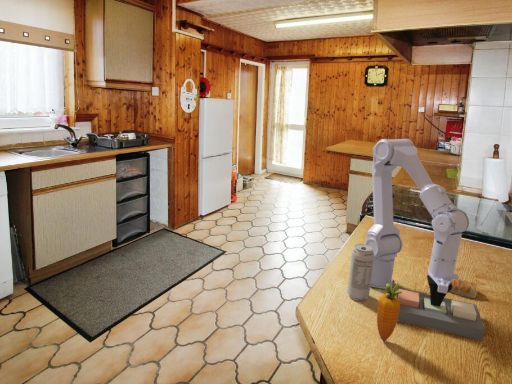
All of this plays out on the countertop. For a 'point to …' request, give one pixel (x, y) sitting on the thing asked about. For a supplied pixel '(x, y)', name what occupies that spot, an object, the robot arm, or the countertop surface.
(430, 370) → the countertop surface
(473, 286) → the pastry
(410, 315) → the panel
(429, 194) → the robot arm
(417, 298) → the terracotta button
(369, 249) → the energy drink can
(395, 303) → the carrot
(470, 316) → the cream button
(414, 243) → the countertop surface
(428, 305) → the sage button
